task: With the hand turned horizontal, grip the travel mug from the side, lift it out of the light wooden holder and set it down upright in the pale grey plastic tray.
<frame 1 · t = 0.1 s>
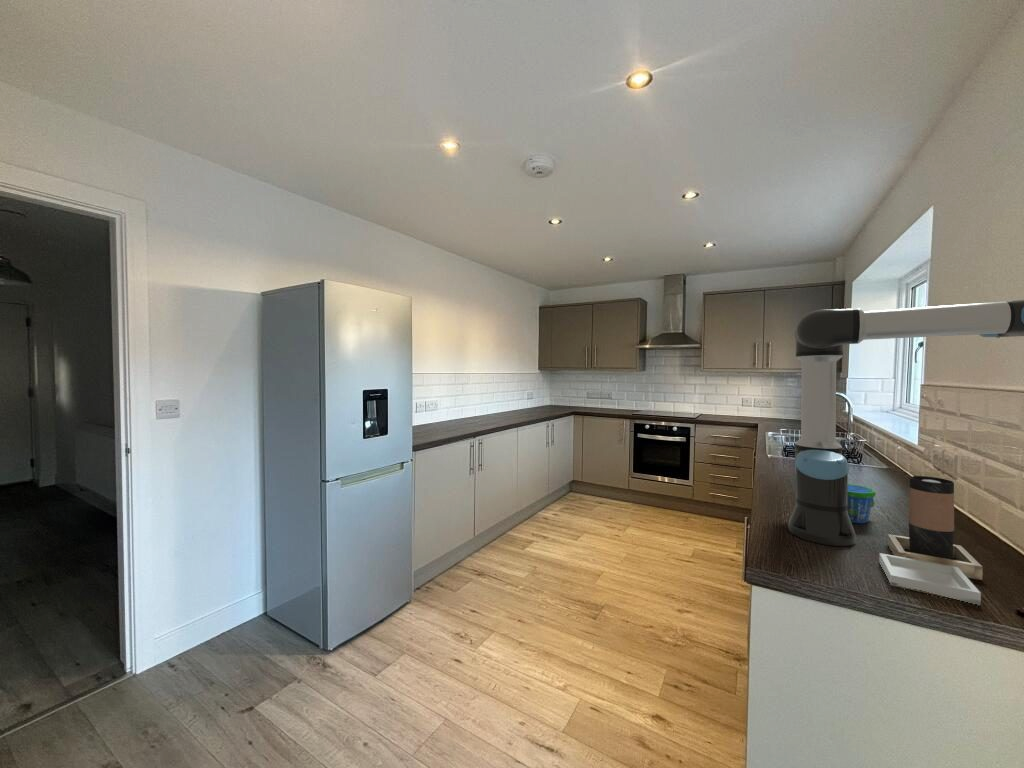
grey tray: (924, 582, 88), on the countertop
snack cup: (852, 520, 126), on the countertop
travel mug: (930, 561, 98), resting in wooden holder
wooden holder: (930, 561, 98), on the countertop
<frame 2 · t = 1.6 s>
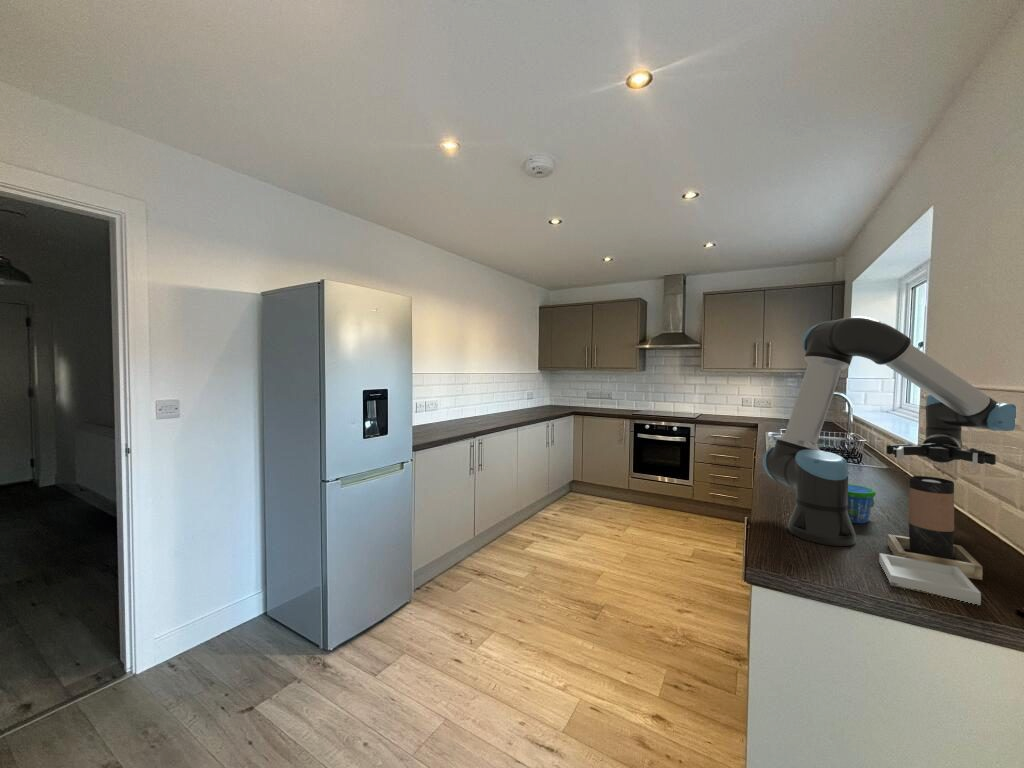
hand: (934, 457, 104), 24 cm above the countertop, tool horizontal, fingers open, 13 cm apart
nothing on the countertop moved.
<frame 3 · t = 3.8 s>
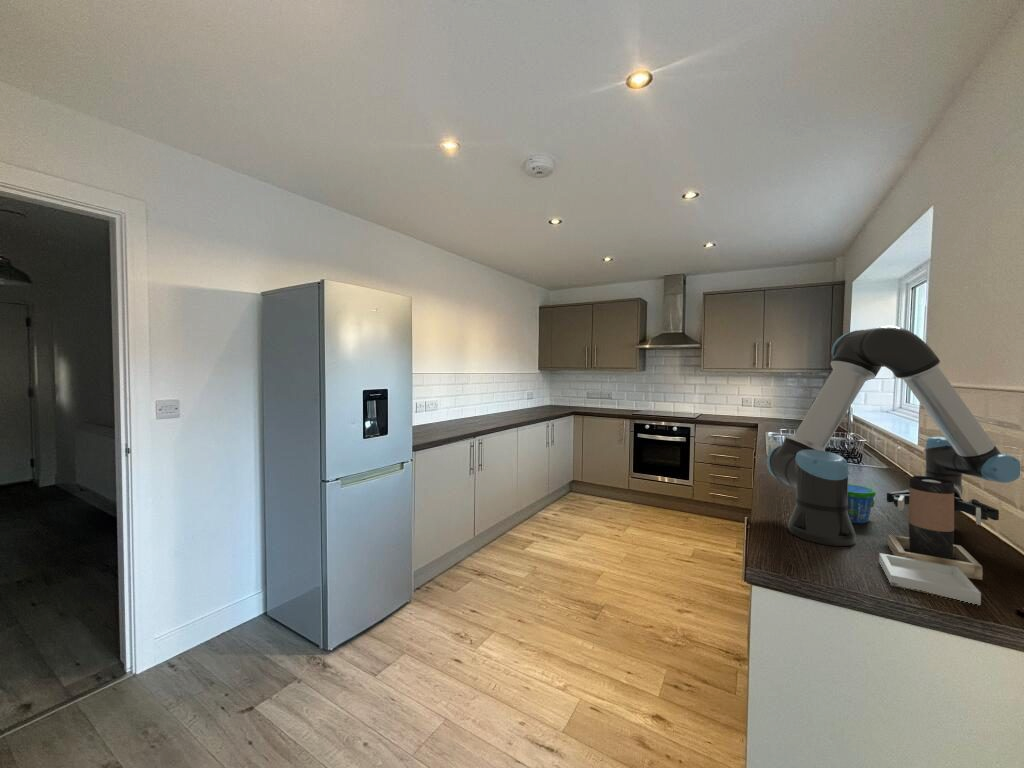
hand: (937, 511, 101), 11 cm above the countertop, tool horizontal, fingers open, 13 cm apart
nothing on the countertop moved.
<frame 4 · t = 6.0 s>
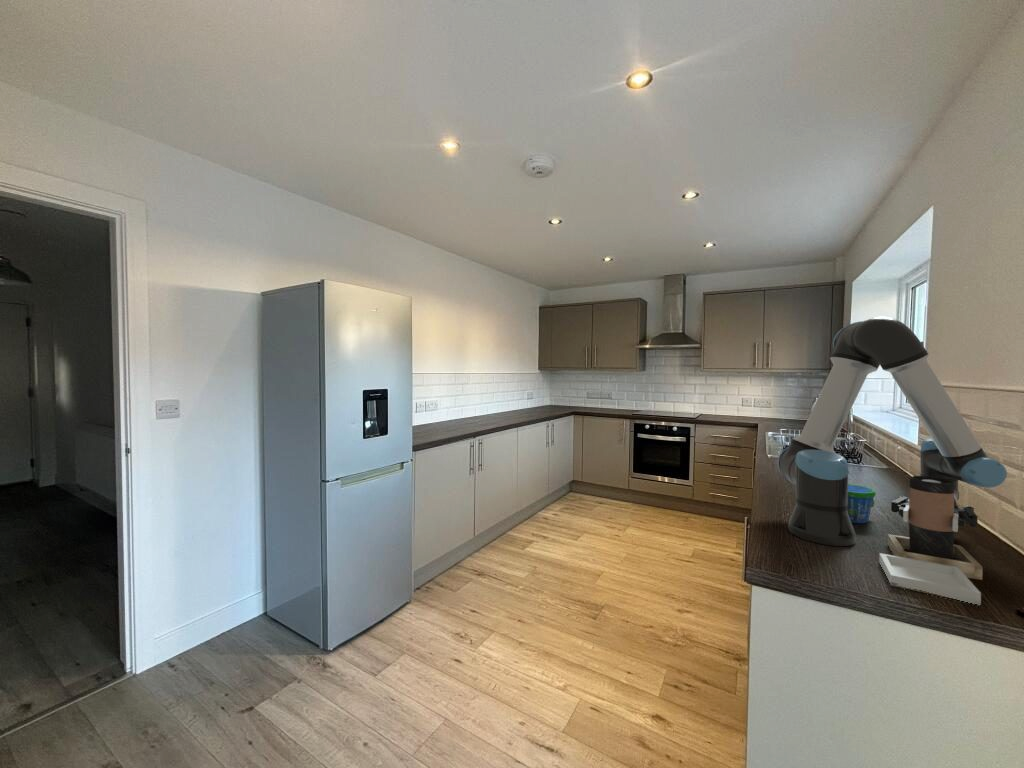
hand: (929, 520, 94), 11 cm above the countertop, tool horizontal, fingers closed on travel mug, 7 cm apart
travel mug: (930, 561, 98), resting in wooden holder, touching gripper
everything else where it was.
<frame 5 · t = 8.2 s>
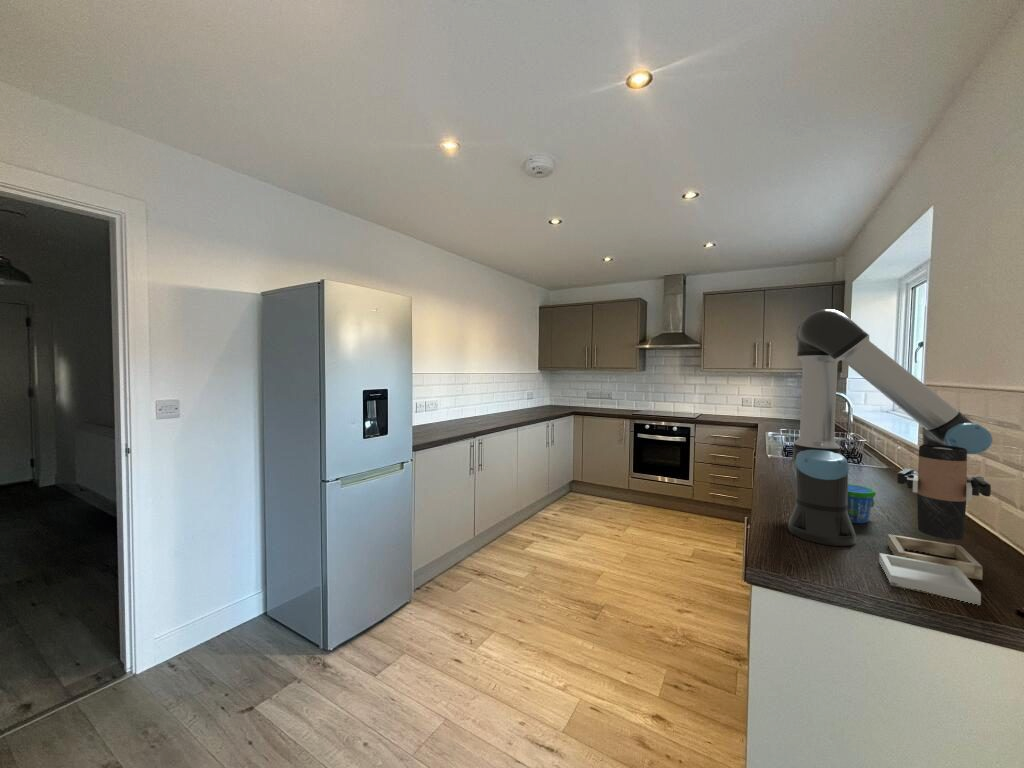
hand: (941, 490, 88), 20 cm above the countertop, tool horizontal, fingers closed on travel mug, 7 cm apart
travel mug: (940, 534, 92), point 9 cm above the countertop, touching gripper
everything else where it was.
when the fingers open (13 cm above the countertop, at t = 10.6 s): travel mug stays where it is, resting on grey tray.
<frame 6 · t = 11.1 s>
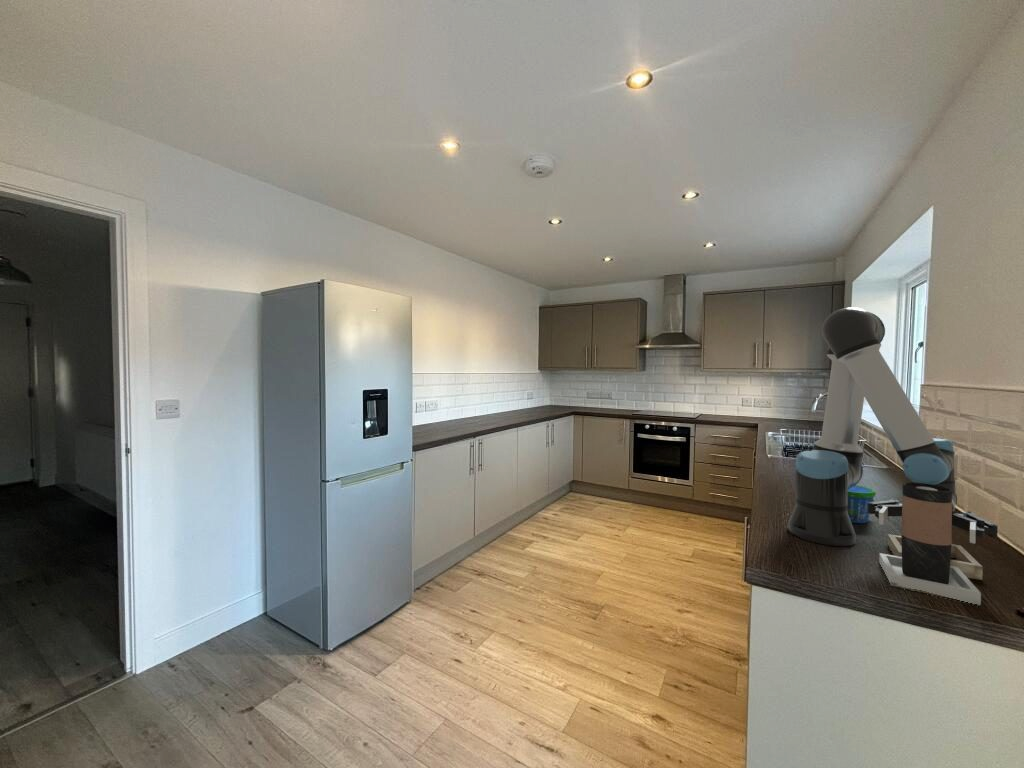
hand: (924, 527, 85), 13 cm above the countertop, tool horizontal, fingers open, 13 cm apart
travel mug: (924, 578, 88), point 1 cm above the countertop, touching grey tray
everything else where it was.
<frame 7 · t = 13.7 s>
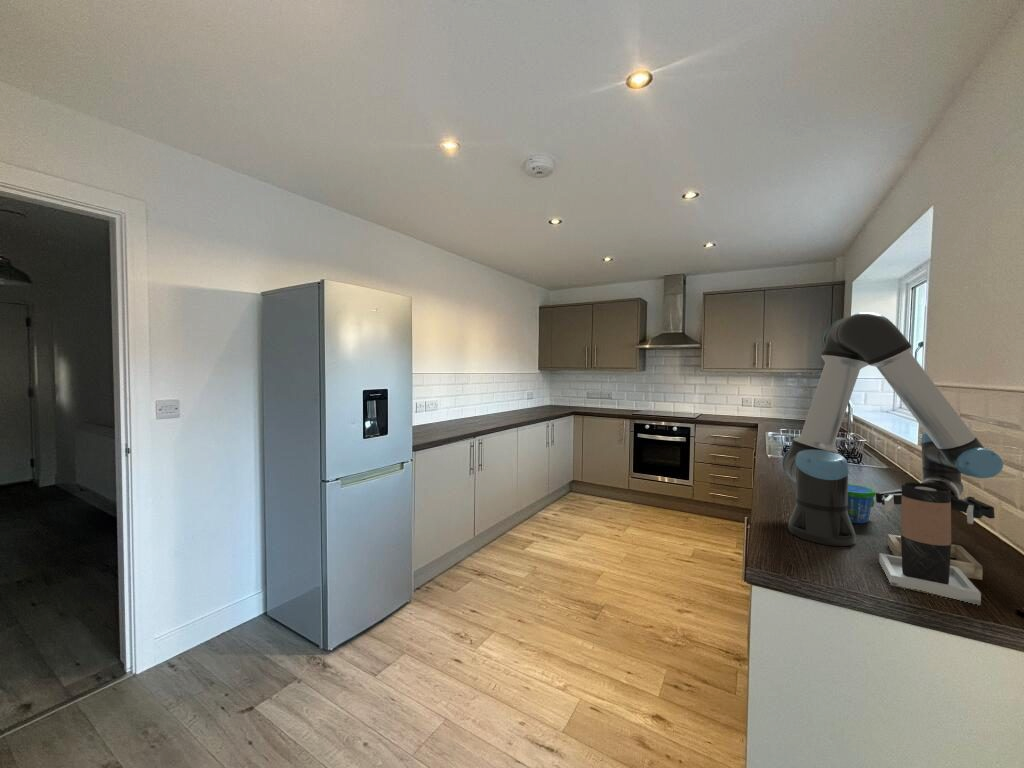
hand: (925, 511, 94), 13 cm above the countertop, tool horizontal, fingers open, 13 cm apart
nothing on the countertop moved.
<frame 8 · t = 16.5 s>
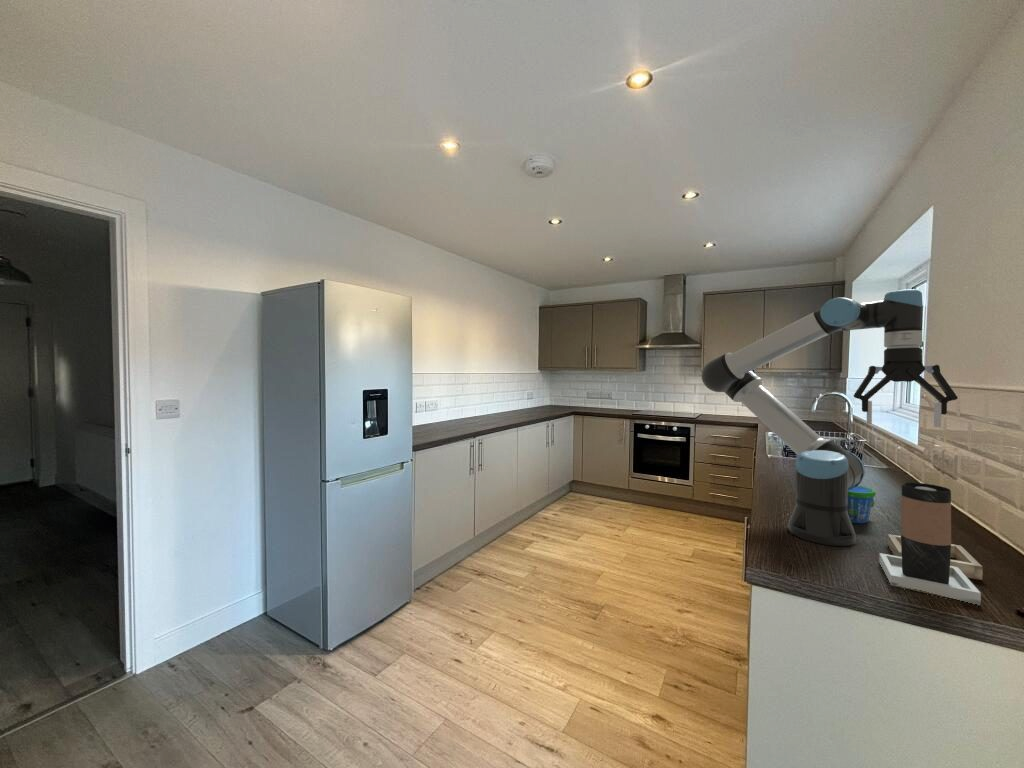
hand: (902, 425, 110), 32 cm above the countertop, tool pointing down, fingers open, 13 cm apart
nothing on the countertop moved.
at the end: travel mug 0.1 cm off-centre on the grey tray, point 0.8 cm above the grey tray's base; travel mug tilted 0°; the gripper is holding nothing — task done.
